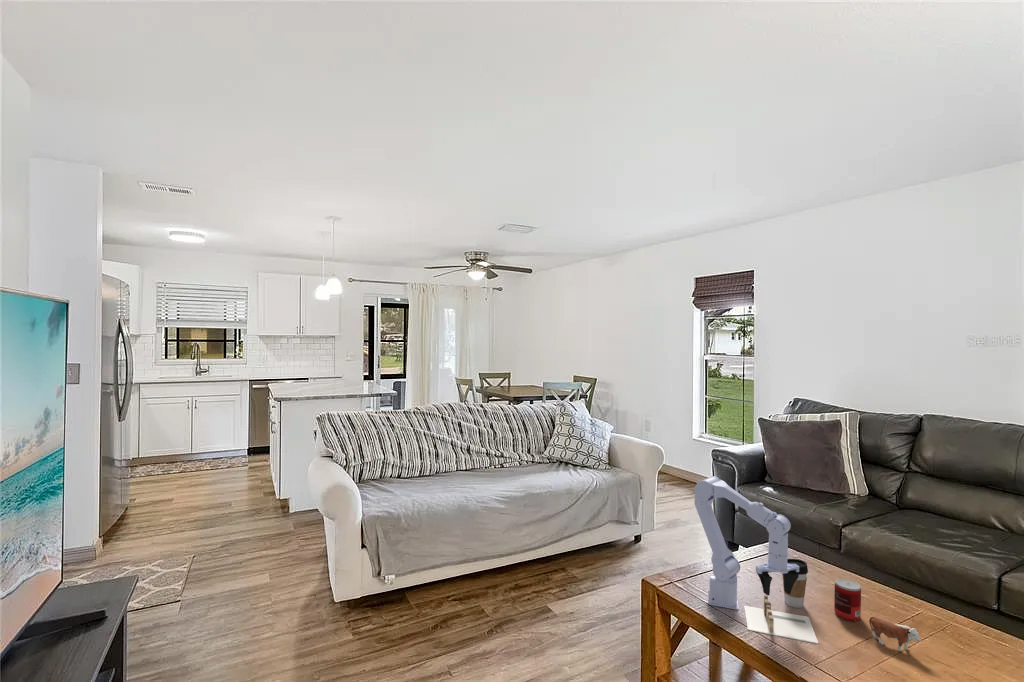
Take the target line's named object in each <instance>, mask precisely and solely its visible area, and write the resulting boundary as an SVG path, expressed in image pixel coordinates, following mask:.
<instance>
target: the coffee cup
mask: <svg viewBox="0 0 1024 682" xmlns="http://www.w3.org/2000/svg"><path fill="white" fill-rule="evenodd" d="M787 563H788V564H796V565H798V566H799V572H796V573H797V574H798V575H799V577H798V579H797V580H796V581H795V583H794V585H793V587H792V590H791V593H790V594H787V593H786V592H785V591H784V590H783V596H784V597H783V599H784V603H785V605H788V606H790V607H792V608H799V609H801V608H803V607H804V604H805V594H806V588H807V587H806V586H807V580H808V578H807V574H808V573H809V569H808V568H809V567H808V562H806V561H804V560H802V559H797V558H787ZM782 585H783V587H784V576H783V573H782Z"/></svg>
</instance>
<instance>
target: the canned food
mask: <svg viewBox="0 0 1024 682" xmlns="http://www.w3.org/2000/svg"><path fill="white" fill-rule="evenodd" d="M833 606H834V608H833V611H834V613H835V615H836V616H837V617H838V618H840V619H843V620H845V621H849V622H858V621H859V620H860V619H861V615H862V614H861V611H862V586H861V585H860V584H859V583H858V582H856V581H854V580H852V579H848V578H837V579H835V580H834V605H833Z"/></svg>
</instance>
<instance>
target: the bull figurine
mask: <svg viewBox="0 0 1024 682" xmlns="http://www.w3.org/2000/svg"><path fill="white" fill-rule="evenodd" d="M868 621H869V626H870V628H871V633H872V636H873V638H875V639H876V640H878V644H880V645H882V646H885V645H886V644H885V642H884V641H883V640H882V638H881V636H882V635H881V634H884V635H885V637H886V638H887V639H889V640H890V639H894V640H895V639H896V640H897V645H898V646H897V647H896V649H897V650H898V652H903V650H902V648H901V647H902V646H903V649H904V650H905V651H906V652H909V651H910V649H909V648H908V646H907V644H910V643H912V642H913V641H915V642H917V643H918V642H919V643H920V642H921V643H922V639H921V638H920V633H919V629H916V628H911V627H910V626H908V625H902V624H897V623H894V622H890V621H887V620H884V619H882V618H880V617H876V616H871V617H869V620H868Z"/></svg>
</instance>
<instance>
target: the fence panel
mask: <svg viewBox="0 0 1024 682" xmlns="http://www.w3.org/2000/svg"><path fill="white" fill-rule="evenodd" d="M772 611H773V610H772ZM772 611H771V610H770V605H767V606H766V617H767V621H768V625H769V630H770V632H773V628H774V619H773V617H772Z"/></svg>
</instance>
